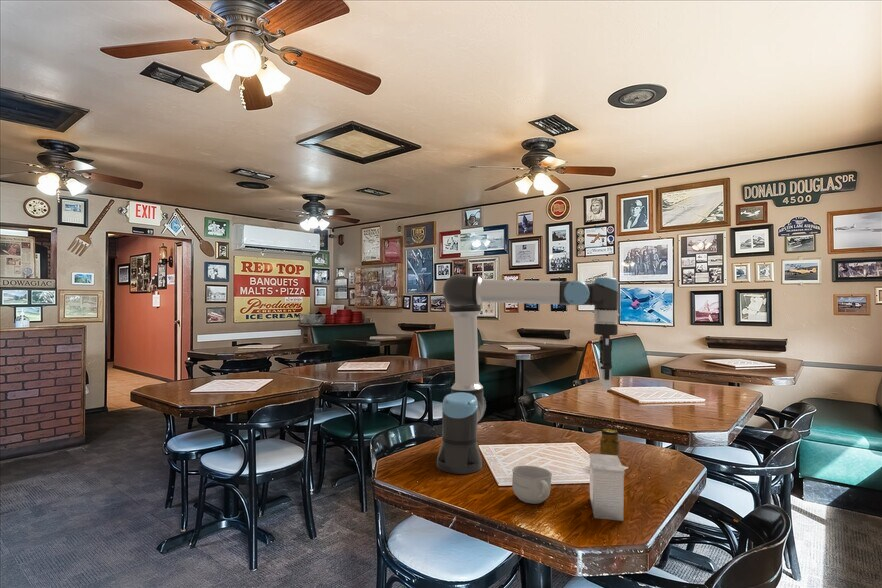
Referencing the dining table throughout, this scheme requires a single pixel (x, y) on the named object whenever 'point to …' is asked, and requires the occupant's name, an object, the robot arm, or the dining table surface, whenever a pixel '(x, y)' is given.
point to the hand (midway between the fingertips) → (604, 386)
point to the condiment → (610, 443)
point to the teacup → (531, 483)
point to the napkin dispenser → (606, 486)
